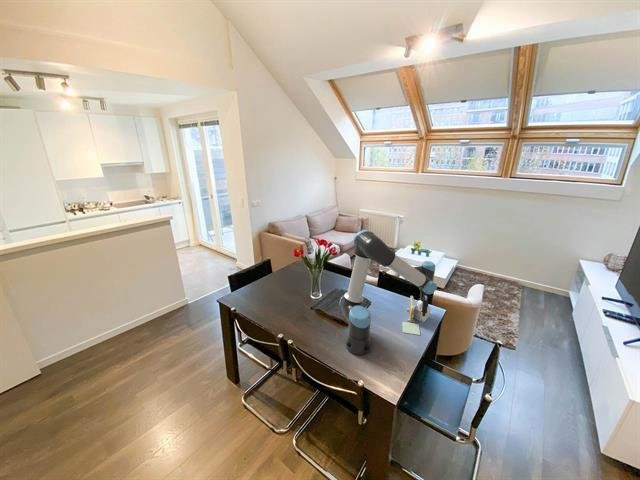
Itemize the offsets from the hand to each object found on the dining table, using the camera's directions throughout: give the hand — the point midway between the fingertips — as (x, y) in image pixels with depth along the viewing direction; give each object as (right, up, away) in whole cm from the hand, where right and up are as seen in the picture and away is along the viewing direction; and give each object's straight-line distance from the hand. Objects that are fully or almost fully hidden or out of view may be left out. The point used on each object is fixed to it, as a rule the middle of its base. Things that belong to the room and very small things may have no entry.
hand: (421, 312), depth 174 cm
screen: (-6, -3, +3) cm, 8 cm away
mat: (-10, -7, -9) cm, 15 cm away
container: (0, -3, +1) cm, 4 cm away
